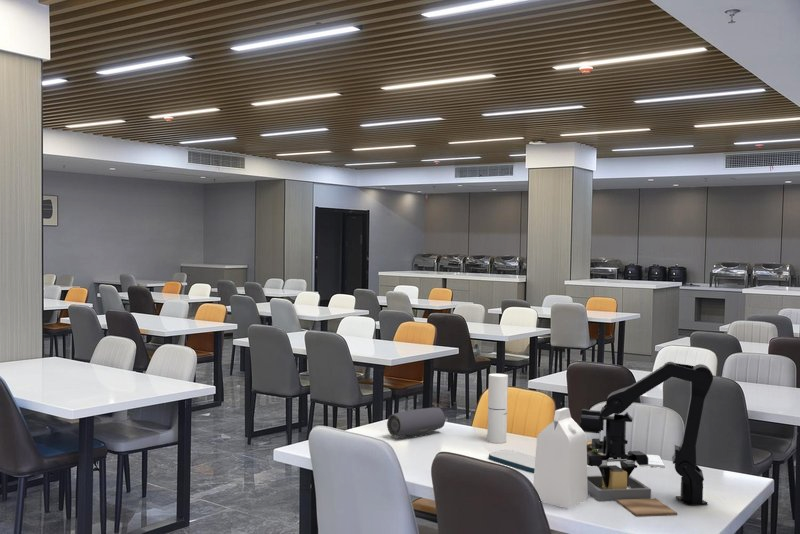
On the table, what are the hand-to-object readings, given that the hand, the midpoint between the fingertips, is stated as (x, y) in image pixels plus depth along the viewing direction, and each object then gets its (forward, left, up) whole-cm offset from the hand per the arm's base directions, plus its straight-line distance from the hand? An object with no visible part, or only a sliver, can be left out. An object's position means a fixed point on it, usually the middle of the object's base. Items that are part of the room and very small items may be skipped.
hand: (614, 487), depth 220 cm
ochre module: (0, 0, -2) cm, 2 cm away
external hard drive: (+32, +18, -2) cm, 37 cm away
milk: (-4, +19, -2) cm, 19 cm away
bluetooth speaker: (+73, +47, -2) cm, 87 cm away
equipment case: (+7, 0, -2) cm, 7 cm away
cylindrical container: (+62, +18, -2) cm, 65 cm away
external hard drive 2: (+30, -27, -2) cm, 41 cm away
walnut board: (-14, -3, -2) cm, 14 cm away
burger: (+36, -8, -2) cm, 37 cm away
